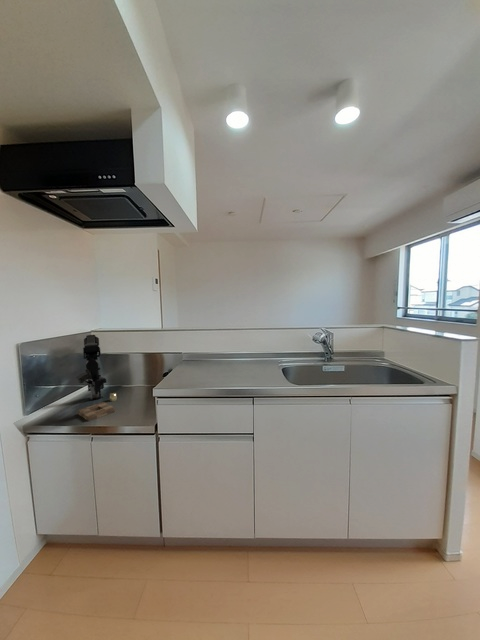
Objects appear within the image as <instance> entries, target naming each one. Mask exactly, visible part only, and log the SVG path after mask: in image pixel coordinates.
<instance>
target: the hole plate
mask: <svg viewBox="0 0 480 640" xmlns="http://www.w3.org/2000/svg"><path fill="white" fill-rule="evenodd" d="M77 412H78V416H80V417H81V418H83V419H84V420H86V421H88V422H91V421H93V420H96V419H99V418H101V417H103V416H104V417H105V416H106V415H110V414H112V413H115V407H114V406H113V405H110V404H108V403H106V402H105V401H102V402H99V403H96V404H92V405H91V406H90V405H89V406H86V407H83V408H80V409H78V410H77Z"/></svg>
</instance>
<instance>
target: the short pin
mask: <svg viewBox="0 0 480 640" xmlns="http://www.w3.org/2000/svg"><path fill="white" fill-rule="evenodd" d="M117 400H118V399H117V393H116V392H111V393H109V402H115V401H117Z"/></svg>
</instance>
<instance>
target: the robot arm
mask: <svg viewBox="0 0 480 640" xmlns="http://www.w3.org/2000/svg"><path fill="white" fill-rule="evenodd" d="M83 346H84V347H83V349H82V350H83V351H82V352H83V359H85V361H86V362H85V363H86V364H85V367H86V369H85V370H84V372H83V373H80V374H79V375H77V376H76V377H75V379H76V381H77V382H78V383H79V384H83V383H84V382H85V383H86V384H87V391H88V392H91V389H90V383H92V384H91V385H92V386H94V391H95V394H98V392H99V397H97V398H91V397H89V400H91V401H92V402H94V401H97V400H100V399H104V396H103V395H102V390H103V389H104V388H105V386H104V384H106V383H107V378H105V377H104V376H101V374H100V370H101V367H99V358H100V357H101V354H102V353H101V347H100V338H99V337H97V336H96V334H88V335H86V337H84V339H83Z"/></svg>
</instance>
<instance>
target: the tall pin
mask: <svg viewBox="0 0 480 640" xmlns="http://www.w3.org/2000/svg"><path fill="white" fill-rule="evenodd" d="M91 384H92V383H90V389H91V391H90V398H97V397H99V392H98V394H95V391H94V386H92V385H91Z"/></svg>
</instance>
